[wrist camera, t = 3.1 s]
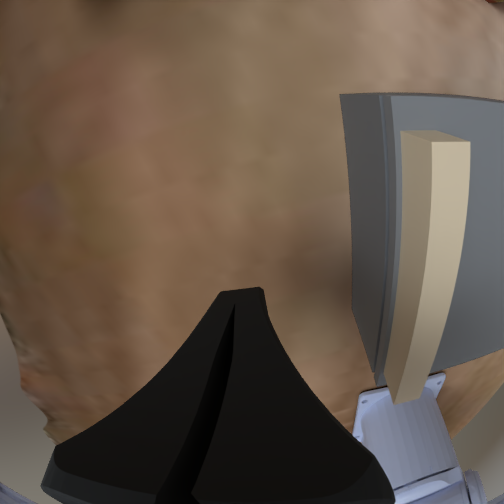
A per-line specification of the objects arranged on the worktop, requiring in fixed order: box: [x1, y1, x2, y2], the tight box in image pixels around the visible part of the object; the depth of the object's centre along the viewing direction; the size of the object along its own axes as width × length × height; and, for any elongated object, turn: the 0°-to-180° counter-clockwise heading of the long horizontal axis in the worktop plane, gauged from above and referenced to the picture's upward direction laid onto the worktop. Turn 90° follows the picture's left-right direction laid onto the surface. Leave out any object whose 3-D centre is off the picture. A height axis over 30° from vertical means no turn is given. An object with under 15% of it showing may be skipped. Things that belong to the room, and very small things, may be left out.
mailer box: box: [340, 93, 504, 373], centre depth 12 cm, size 12×14×5 cm
